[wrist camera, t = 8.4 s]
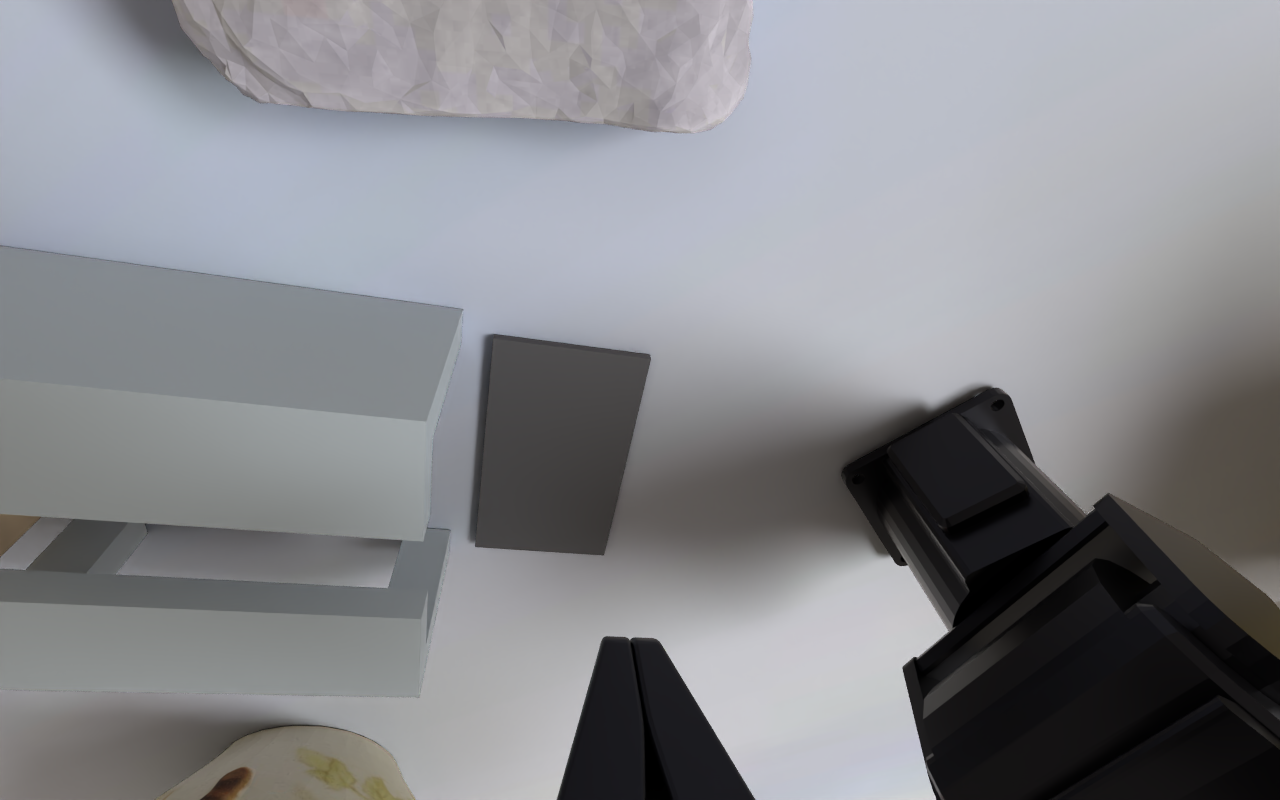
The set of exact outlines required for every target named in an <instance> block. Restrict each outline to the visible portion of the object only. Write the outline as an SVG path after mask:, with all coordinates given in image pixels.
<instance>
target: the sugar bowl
mask: <svg viewBox="0 0 1280 800" xmlns="http://www.w3.org/2000/svg"><path fill="white" fill-rule="evenodd" d="M155 800H416V799H415V798H414V796H413V794H412V793H411V791H410V789H409V788H408V786H407V784H406V783H405V781H404V779H403V777H402V775H401V772H400V770H399V768H398V766H397V763H396V762H395V760H394V758H393V756H392V755H391V754H390V753H389V752H388V751H387V750H385V749H384V748H383V747H381V746H380V745H378V744H377V743H375V742H374V741H372V740H370V739H367V738H365V737H363V736H360V735H357V734H355V733H352V732H349V731H344V730H339V729H334V728H329V727H322V726H285V727H278V728H272V729H266V730H261V731H258V732H255V733H252V734H249V735H247V736H244V737H242V738H240V739H239V740H237V741H235V742H234V743H233V744H232V745H231V746H230V747H228V748H227V749H226V750H225V751H224V752H223V753H222V754H220V755H219V756H218V757H217V758H215V759H214V760H213V761H211V762H210V763H208V764H207V765H206V766H204V767H203V768H201V769H200V770H198V771H197V772H195V773H194V774H192V775H191V776H189V777H188V778H186V779H185V780H183V781H182V782H180V783H179V784H177V785H176V786H174V787H173V788H171V789H170V790H168V791H167V792H165V793H164V794H162V795H161V796H159V797H158V798H156V799H155Z"/></svg>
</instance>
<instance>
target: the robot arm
mask: <svg viewBox="0 0 1280 800" xmlns="http://www.w3.org/2000/svg"><path fill="white" fill-rule="evenodd" d="M996 400H997V401H996ZM995 401H996V402H995ZM993 402H995V403H994V404H992V403H993ZM858 474H859V475H858ZM855 475H858V476H857V477H854V476H855ZM841 476H842V479H843V481H844V482H845V484H846V486H847V487H848V489H849V490H850V492H851V494H852V495H853V497H854V498H855V500H856V502H857V503H858V505H859V506H860V508H861V509H862V511H863V513H864V514H865V516H866V517H867V519H868V520H869V522H870V524H871V525H872V527H873V528H874V530H875V532H876V533H877V535H878V536H879V538H880V539H881V541H882V543H883V544H884V546H885V547H886V549H887V550H888V552H889V554H890V555H891V557H892V558H893V560H894V562H895V563H896V564H897V565H899V566H907V565H908V566H909V568H910V569H911V571H912V572H913V574H914V576H915V577H916V579H917V581H918V582H919V584H920V585H921V587H922V589H923V590H924V592H925V594H926V595H927V597H928V598H929V600H930V602H931V603H932V605H933V607H934V608H935V610H936V611H937V613H938V615H939V616H940V618H941V620H942V621H943V623H944V624H945V626H946V628H947V629H948V631H949V632H948V633H947V634H945V635H944V636H943V637H942V638H941V639H940V640H938V641H937V642H936V643H935V644H934V645H932V646H931V647H930V648H929V649H928V650H926V651H925V652H924V653H923V654H922V655H921V656H919V657H918V658H917V657H913V658H912V659H911V660H910V661H909V662H908V663H906V664H905V665H904V666H903V673H904V677H905V681H906V685H907V689H908V694H909V698H910V702H911V706H912V710H913V714H914V718H915V723H916V727H917V731H918V735H919V739H920V743H921V748H922V752H923V756H924V760H925V764H926V768H927V773H928V777H929V780H930V783H931V786H932V789H933V792H934V794H935V796H936V800H1280V609H1279V608H1278V607H1277V605H1276V604H1275V603H1274V602H1273V601H1272V600H1271V599H1270V598H1269V597H1268V596H1267V595H1266V594H1265V593H1263V592H1262V591H1261V590H1260V589H1259V588H1257V587H1256V586H1255V585H1253V584H1252V583H1251V582H1250V581H1248V580H1247V579H1246V578H1245V577H1243V576H1242V575H1241V574H1239V573H1238V572H1237V571H1236V570H1234V569H1233V568H1232V567H1231V566H1229V565H1228V564H1227V563H1225V562H1224V561H1223V560H1222V559H1220V558H1219V557H1218V556H1217V555H1215V554H1214V553H1213V552H1211V551H1210V550H1209V549H1208V548H1206V547H1205V546H1204V545H1203V544H1201V543H1200V542H1199V541H1197V540H1196V539H1194V538H1192V537H1190V536H1189V535H1187V534H1185V533H1183V532H1181V531H1179V530H1177V529H1175V528H1174V527H1172V526H1170V525H1168V524H1166V523H1164V522H1162V521H1160V520H1159V519H1157V518H1155V517H1153V516H1151V515H1149V514H1147V513H1145V512H1144V511H1142V510H1140V509H1138V508H1136V507H1134V506H1132V505H1130V504H1129V503H1127V502H1125V501H1123V500H1121V499H1119V498H1117V497H1115V496H1114V495H1112V494H1110V493H1107V494H1106V495H1105V496H1104V497H1103V498H1102V499H1100V500H1099V501H1098V502H1097V503H1096V504H1094V505H1093V506H1094V508H1095V509H1094V510H1093V511H1092V512H1090V513H1089V514H1088V515H1086V514H1085V513H1084V512H1083V511H1082V510H1081V509H1080V508H1079V507H1078V506H1077V505H1076V504H1075V503H1074V502H1073V501H1072V500H1071V499H1070V498H1069V497H1068V496H1067V495H1066V494H1065V493H1064V492H1063V491H1062V490H1061V489H1060V488H1059V487H1058V486H1057V485H1055V484H1054V483H1053V482H1052V481H1051V480H1050V479H1049V478H1048V477H1047V476H1046V475H1045V474H1044V473H1043V472H1042V471H1041V470H1040V469H1039V468H1038V467H1037V466H1036V465H1035V462H1034V460H1033V457H1032V454H1031V451H1030V449H1029V446H1028V443H1027V441H1026V438H1025V435H1024V432H1023V430H1022V427H1021V424H1020V422H1019V419H1018V416H1017V413H1016V411H1015V408H1014V405H1013V402H1012V400H1011V398H1010V396H1009V395H1008V394H1007V393H1005V392H1004V391H1003V390H1002V389H999V388H992V389H989V390H987V391H985V392H983V393H981V394H979V395H978V396H976V397H974V398H972V399H970V400H968V401H966V402H965V403H963V404H961V405H959V406H957V407H955V408H953V409H952V410H950V411H948V412H946V413H944V414H942V415H940V416H939V417H937V418H935V419H933V420H931V421H929V422H927V423H926V424H924V425H922V426H920V427H918V428H916V429H914V430H913V431H911V432H909V433H907V434H905V435H903V436H901V437H900V438H898V439H896V440H894V441H892V442H890V443H888V444H886V445H885V446H883V447H881V448H879V449H877V450H875V451H873V452H872V453H870V454H868V455H866V456H864V457H862V458H860V459H859V460H857V461H855V462H853V463H851V464H849V465H848V466H847V467H845V468H844V470H843V471H842V475H841ZM853 477H854V478H853ZM557 800H755V798H754V797H753V795H752V793H751V792H750V790H749V788H748V787H747V785H746V783H745V782H744V780H743V778H742V777H741V775H740V773H739V772H738V770H737V769H736V767H735V765H734V764H733V762H732V760H731V759H730V757H729V755H728V754H727V752H726V750H725V749H724V747H723V745H722V744H721V742H720V740H719V739H718V737H717V735H716V734H715V732H714V731H713V729H712V727H711V726H710V724H709V722H708V721H707V719H706V717H705V716H704V714H703V712H702V711H701V709H700V707H699V706H698V704H697V702H696V701H695V699H694V697H693V696H692V694H691V693H690V691H689V689H688V688H687V686H686V684H685V683H684V681H683V679H682V678H681V676H680V674H679V673H678V671H677V669H676V668H675V666H674V664H673V663H672V661H671V659H670V658H669V656H668V654H667V653H666V651H665V650H664V648H663V646H662V645H661V643H660V642H659V641H658V640H657V639H654V638H636V637H635V638H632V639H631V640H629V639H628V638H626V637H610V636H606V637H604V638H603V639H602V641H601V645H600V648H599V652H598V655H597V659H596V663H595V666H594V670H593V673H592V677H591V680H590V684H589V687H588V691H587V694H586V698H585V702H584V705H583V709H582V712H581V716H580V719H579V723H578V726H577V730H576V733H575V737H574V741H573V744H572V748H571V751H570V755H569V758H568V762H567V765H566V769H565V773H564V776H563V780H562V783H561V787H560V790H559V794H558V797H557Z"/></svg>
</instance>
